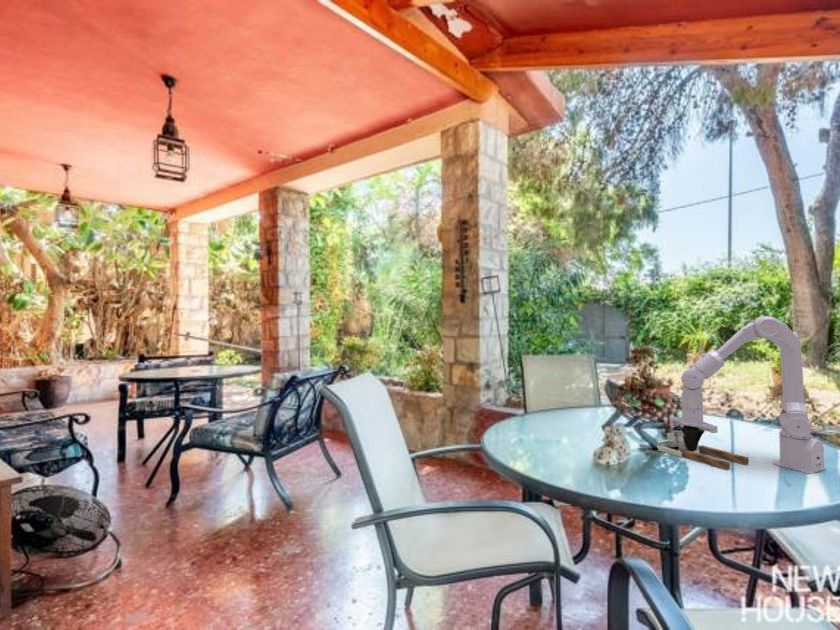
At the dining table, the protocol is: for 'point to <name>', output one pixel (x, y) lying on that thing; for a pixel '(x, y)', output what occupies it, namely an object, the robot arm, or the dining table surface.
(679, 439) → the grey brown cube
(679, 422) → the robot arm
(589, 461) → the dining table surface
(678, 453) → the beige open frame
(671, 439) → the greyish beige cube
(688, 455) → the slot rails
